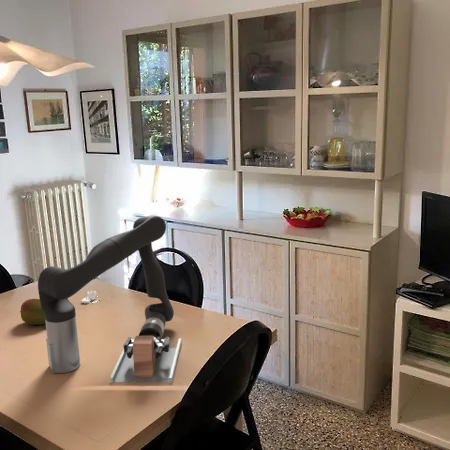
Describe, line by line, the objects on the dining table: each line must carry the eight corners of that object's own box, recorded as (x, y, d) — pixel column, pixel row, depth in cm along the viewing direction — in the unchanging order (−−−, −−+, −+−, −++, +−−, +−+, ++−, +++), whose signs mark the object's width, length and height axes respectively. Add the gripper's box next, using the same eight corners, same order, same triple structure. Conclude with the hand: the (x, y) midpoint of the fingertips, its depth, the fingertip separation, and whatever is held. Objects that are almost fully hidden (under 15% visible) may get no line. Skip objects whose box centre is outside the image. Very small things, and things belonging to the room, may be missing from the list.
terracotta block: (152, 376, 153) (150, 343, 151) (134, 377, 153) (132, 344, 151) (155, 367, 158) (153, 335, 156) (137, 367, 159) (135, 335, 156)
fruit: (21, 320, 198) (18, 296, 196) (54, 314, 203) (51, 291, 201) (22, 332, 188) (19, 307, 186) (57, 325, 193) (54, 301, 190)
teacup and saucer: (83, 306, 213) (82, 297, 212) (78, 300, 219) (77, 291, 218) (103, 301, 217) (103, 292, 216) (97, 296, 224) (97, 287, 223)
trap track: (172, 385, 150) (171, 377, 150) (110, 385, 151) (109, 377, 150) (181, 344, 175) (181, 338, 175) (128, 345, 176) (128, 338, 175)
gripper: (130, 322, 169) (119, 344, 153) (172, 322, 168) (165, 344, 153) (131, 342, 171) (120, 366, 155) (173, 342, 170) (166, 366, 154)
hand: (143, 355), depth 154 cm, fingers open, 8 cm apart
